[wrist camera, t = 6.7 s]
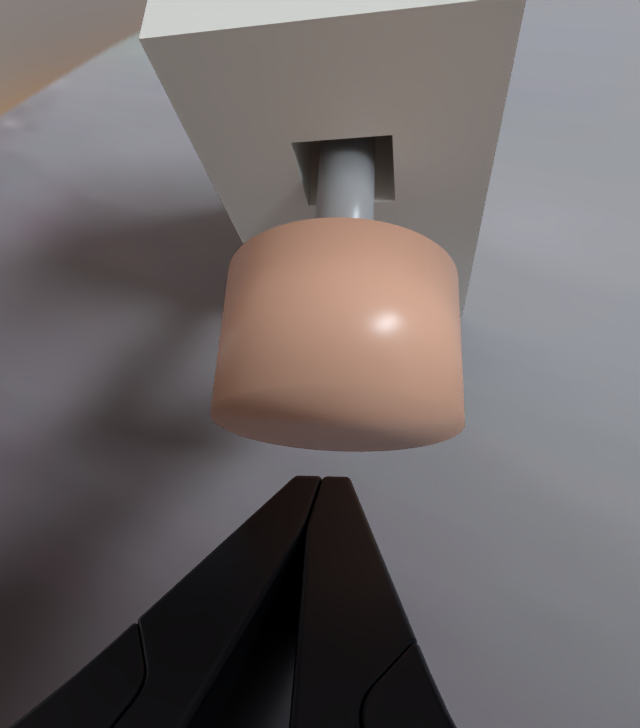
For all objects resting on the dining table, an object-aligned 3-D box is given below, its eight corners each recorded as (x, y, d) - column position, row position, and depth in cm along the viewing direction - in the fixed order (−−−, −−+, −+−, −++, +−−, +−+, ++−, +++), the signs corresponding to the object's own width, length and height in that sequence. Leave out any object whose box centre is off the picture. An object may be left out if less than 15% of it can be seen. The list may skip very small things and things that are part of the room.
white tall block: (462, 315, 17) (526, -6, 8) (281, 319, 18) (139, 38, 9) (456, 188, 19) (502, -202, 10) (291, 198, 20) (181, -147, 11)
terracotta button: (454, 453, 11) (479, 385, 7) (250, 450, 12) (167, 386, 8) (445, 195, 14) (459, 33, 9) (273, 205, 14) (219, 59, 10)
